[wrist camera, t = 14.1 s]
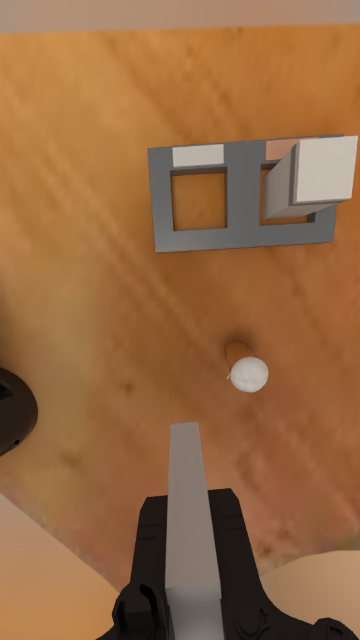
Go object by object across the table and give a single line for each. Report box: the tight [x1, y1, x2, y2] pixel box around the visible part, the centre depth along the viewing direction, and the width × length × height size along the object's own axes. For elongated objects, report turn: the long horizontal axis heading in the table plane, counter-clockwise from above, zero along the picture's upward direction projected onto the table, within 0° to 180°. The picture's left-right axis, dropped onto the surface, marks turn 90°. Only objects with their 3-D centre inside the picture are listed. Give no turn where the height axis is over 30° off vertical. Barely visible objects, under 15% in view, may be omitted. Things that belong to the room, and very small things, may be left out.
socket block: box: [147, 134, 343, 253], centre depth 30 cm, size 23×12×2 cm, turn 93°
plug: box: [262, 136, 358, 220], centre depth 26 cm, size 5×5×10 cm
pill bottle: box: [225, 341, 268, 392], centre depth 31 cm, size 5×5×10 cm
